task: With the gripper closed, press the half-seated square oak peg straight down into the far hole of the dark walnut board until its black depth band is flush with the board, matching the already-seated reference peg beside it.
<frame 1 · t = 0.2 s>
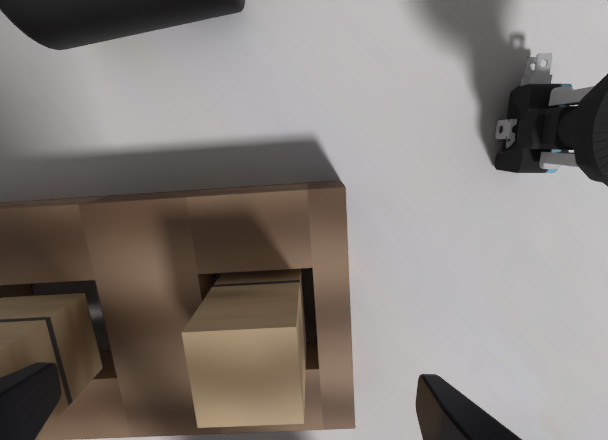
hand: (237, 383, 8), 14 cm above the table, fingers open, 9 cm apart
walnut board: (174, 305, 24), on the table
push button: (518, 119, 21), on the table
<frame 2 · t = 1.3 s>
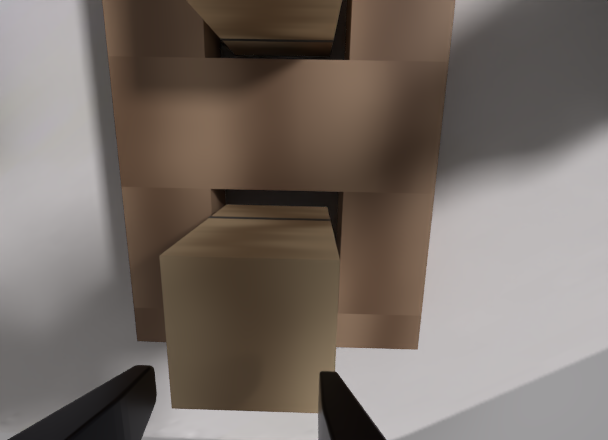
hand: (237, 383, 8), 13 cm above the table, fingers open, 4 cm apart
walnut board: (281, 129, 20), on the table
oak peg: (267, 284, 14), point 7 cm above the table, slide at 3.0 cm
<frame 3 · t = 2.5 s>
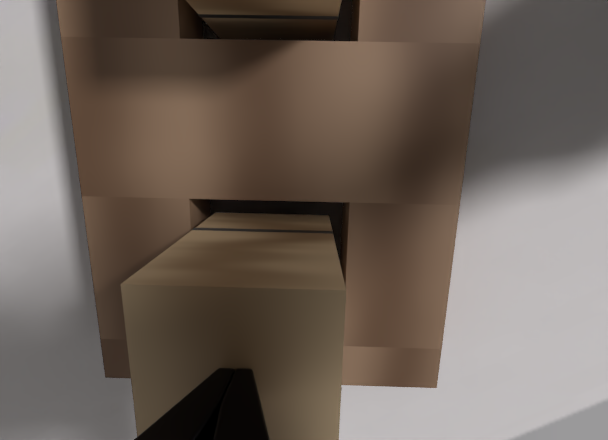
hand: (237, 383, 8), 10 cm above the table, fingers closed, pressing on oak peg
walnut board: (276, 127, 17), on the table
oak peg: (259, 307, 12), point 6 cm above the table, slide at 1.9 cm, touching gripper
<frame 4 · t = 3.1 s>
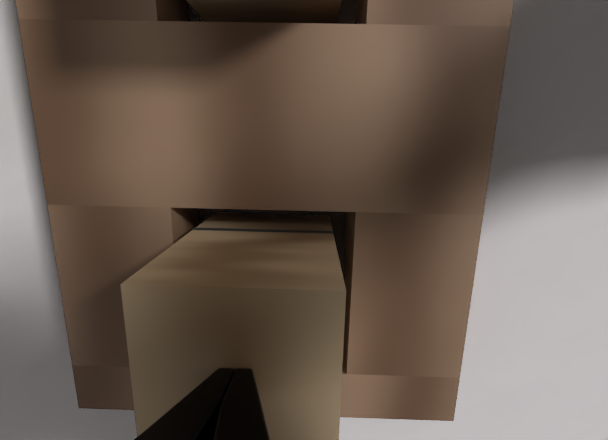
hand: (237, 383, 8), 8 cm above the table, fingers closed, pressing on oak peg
walnut board: (271, 125, 15), on the table
oak peg: (259, 307, 12), point 4 cm above the table, slide at 0.0 cm, touching gripper
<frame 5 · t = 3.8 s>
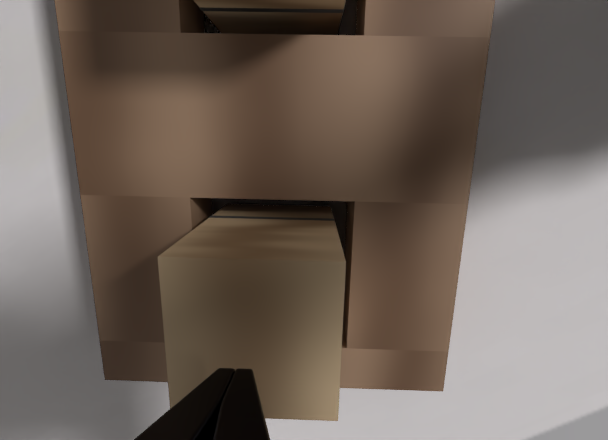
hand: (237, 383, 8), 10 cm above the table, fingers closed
walnut board: (279, 124, 16), on the table
oak peg: (269, 286, 14), point 4 cm above the table, slide at 0.0 cm
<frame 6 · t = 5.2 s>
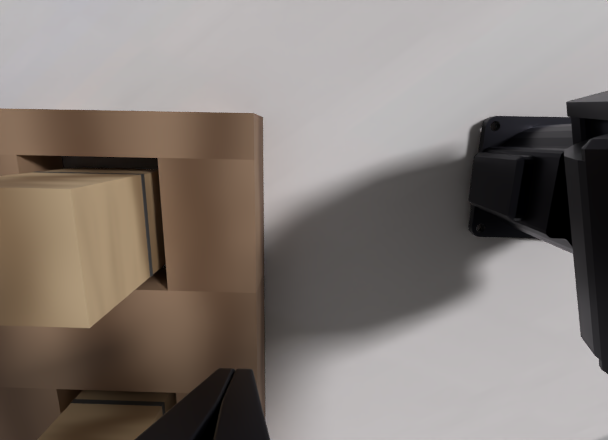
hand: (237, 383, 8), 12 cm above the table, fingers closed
walnut board: (137, 314, 21), on the table
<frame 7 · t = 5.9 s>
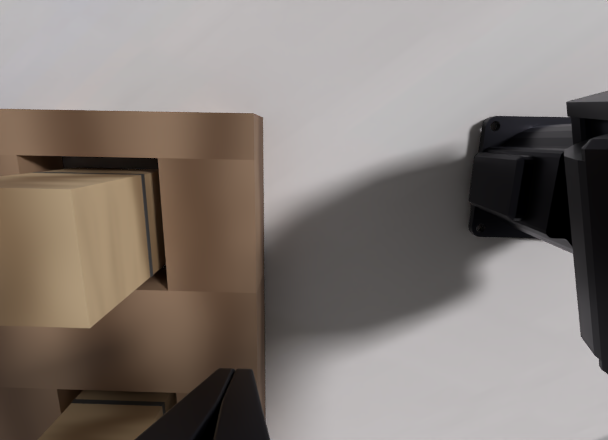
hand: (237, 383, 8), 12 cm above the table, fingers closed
walnut board: (137, 314, 21), on the table
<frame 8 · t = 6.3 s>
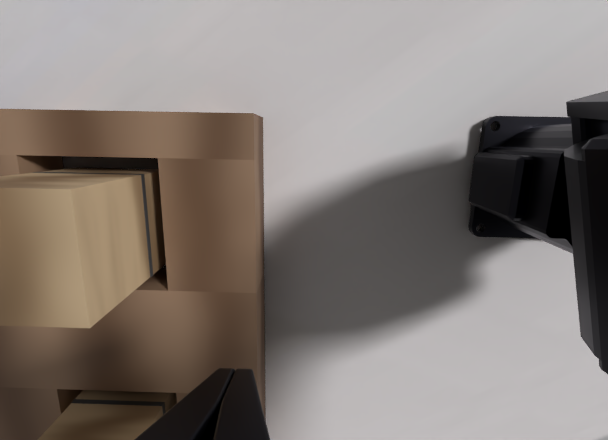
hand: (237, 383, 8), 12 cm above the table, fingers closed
walnut board: (137, 314, 21), on the table
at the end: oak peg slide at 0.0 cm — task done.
